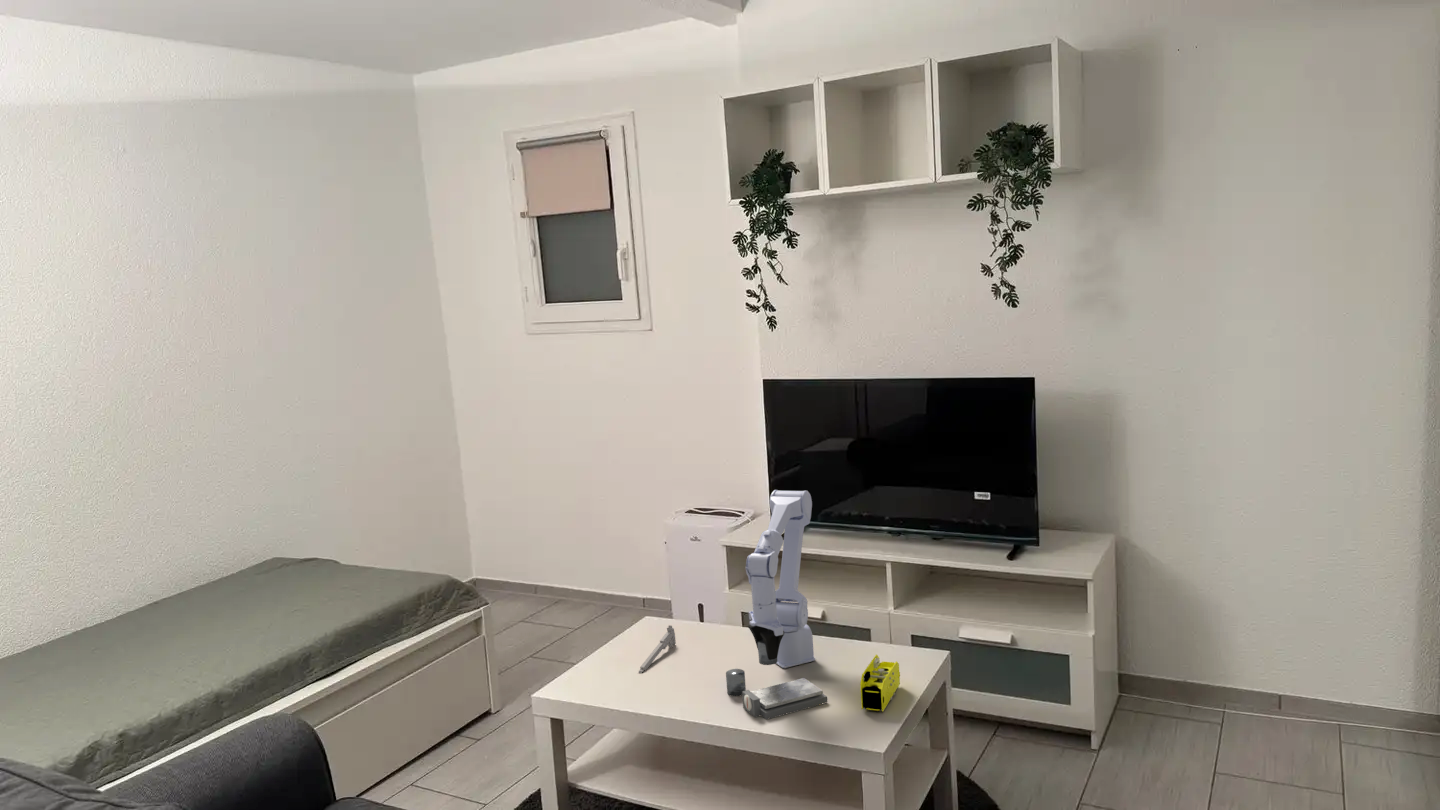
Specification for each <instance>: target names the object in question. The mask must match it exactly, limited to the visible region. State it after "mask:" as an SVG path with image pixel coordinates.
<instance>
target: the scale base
mask: <svg viewBox="0 0 1440 810" xmlns="http://www.w3.org/2000/svg"><path fill="white" fill-rule="evenodd" d="M741 696H742V708H743V709H744V710H745V709H746V712H748V713H749V712H750V713H749V714H750V715H751V714H752V715H751V716H753V717H754V718H757V717H760V716H759V715H761V717H762V716H763V717H762V718H764V719H765V720H769V719H768V718H770V719H773V718H776V717H775V716H777V717H780V716H779V715H781V716H784V715H787V714H786V713H788V714H791V713H790V712H792V713H795V712H798V711H797V710H799V711H802V710H801V709H803V710H805V708H806V709H809V708H808V707H810V708H814V707H816V705H817V706H820V705H819V704H821V705H823V704H822V703H825V702H828V696H827V695H825V694H824V693H823V694H820V695H817V696H813V697H809V698H805V699H802V700H798V701H794V702H791V703H787V704H783V705H779V706H776V707H772V708H768V709H765V708H763V707H762V706H761V705H760V698H758V697H757V696H756V695H754V694H753V693H752V692H751V690H749V689H746V691H742V695H741ZM825 704H826V703H825ZM813 706H814V707H813ZM794 711H795V712H794ZM783 714H784V715H783ZM756 716H757V717H756ZM772 717H773V718H772Z"/></svg>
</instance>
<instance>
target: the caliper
mask: <svg viewBox="0 0 1440 810" xmlns="http://www.w3.org/2000/svg"><path fill="white" fill-rule="evenodd" d="M666 630H667V632H665V633H664V635H663V636H662V637H661V638H660V640H659V643H658V644H657V645H656V647H655V648H654V649H653V651H652V652H651V653H650V654H649V655H648V657H647V658H646V659H645V661H644V662H643V663H642V664H641V666H640V669H639V670H638V672H639V674H642V672H643V673H644V672H645V671H647V670H648V668H649V667H650V666H651V665H652V663H653V662H654V660H656V658H657V657H658V655H659V654H660V653H661V652H662V650H666V648H667V647H668V648H669V647H672V646H673V647H674V646H676V645H675V644H677V641H676V632H675V628H674V627H673V625H670V624H668V626H667V627H666ZM644 670H645V671H644Z"/></svg>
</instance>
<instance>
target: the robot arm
mask: <svg viewBox="0 0 1440 810" xmlns="http://www.w3.org/2000/svg"><path fill="white" fill-rule="evenodd" d="M812 500H813V499H812V496H811V493H810V492H809V491H808V490H778V489H774V490H773V491H772V492H771V494H770V497H769V508H770V512H771V517H770V520H769V524H768V527H767V530H764V531H762V533H761V534H760V536H759V540H758V542H757V543H756V547H755V549H754V552H752V553H751V554H749V555H748V556H746V557H747V558H746V561H745V574H746V575H747V578H748V584H749V585H750V588H751V598H752V599H751V602H752V603H751V604H752V611H748V619H749V624H748V626H747V627H748V629H749V630H750V632H751V634H752V636H753V639H754V642H755V644H756V648H757V649H758V641H759V640H761V639H763V640H764V643H765V646H766V652H767V656H768V659H769V660H772V659H776V658H777V663H775V664H776V665H778V666H779V667H780V668H782V669H787V668H792V667H794V666H798V665H803V664H806V663H810V662H811V663H812V662H814V661H816V658H815V653H814V639H813V638H814V636H813V633H812V629H811V627H810V626H809V625H808V624H807V623H808V619H809V609H808V600H807V597H806V596H805V595H804V594H803V593H802V592H800V591H799V583H800V582H799V581H800V571H801V570H800V569H801V559H802V558H801V557H802V549H803V537H804V532H805V531H804V530H805V527H806V526H807V525H809V524H810V523H811V518H812V508H813V501H812ZM783 533H784V535H783ZM782 535H783V536H782ZM782 546H783V547H782ZM781 549H782V554H781V555H782V556H781V557H782V558H781V565H780V575H779V586H778V589H776V584H775V583H776V582H775V576H776V575H777V572H778V565H779V553H780V552H781Z"/></svg>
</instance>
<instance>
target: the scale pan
mask: <svg viewBox="0 0 1440 810" xmlns="http://www.w3.org/2000/svg"><path fill="white" fill-rule="evenodd" d="M750 692H752V693H753V694H754V695H756V696H757V697H758V698H760V705H761V706H762V707H763V708H765V709H768V708H772V707H776V706H779V705H783V704H787V703H791V702H794V701H798V700H802V699H805V698H809V697H813V696H817V695H820V694H824V691H823V689H821V688H820V687H818V686H817V685H815V684H814V683H813V682H811V681H809V680H808V679H806V678H805V677H801V678H797V679H795V680H790V681H787V682H782V683H779V684H774V685H770V686H766V687H762V688H760V689H755V690H750Z"/></svg>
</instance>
